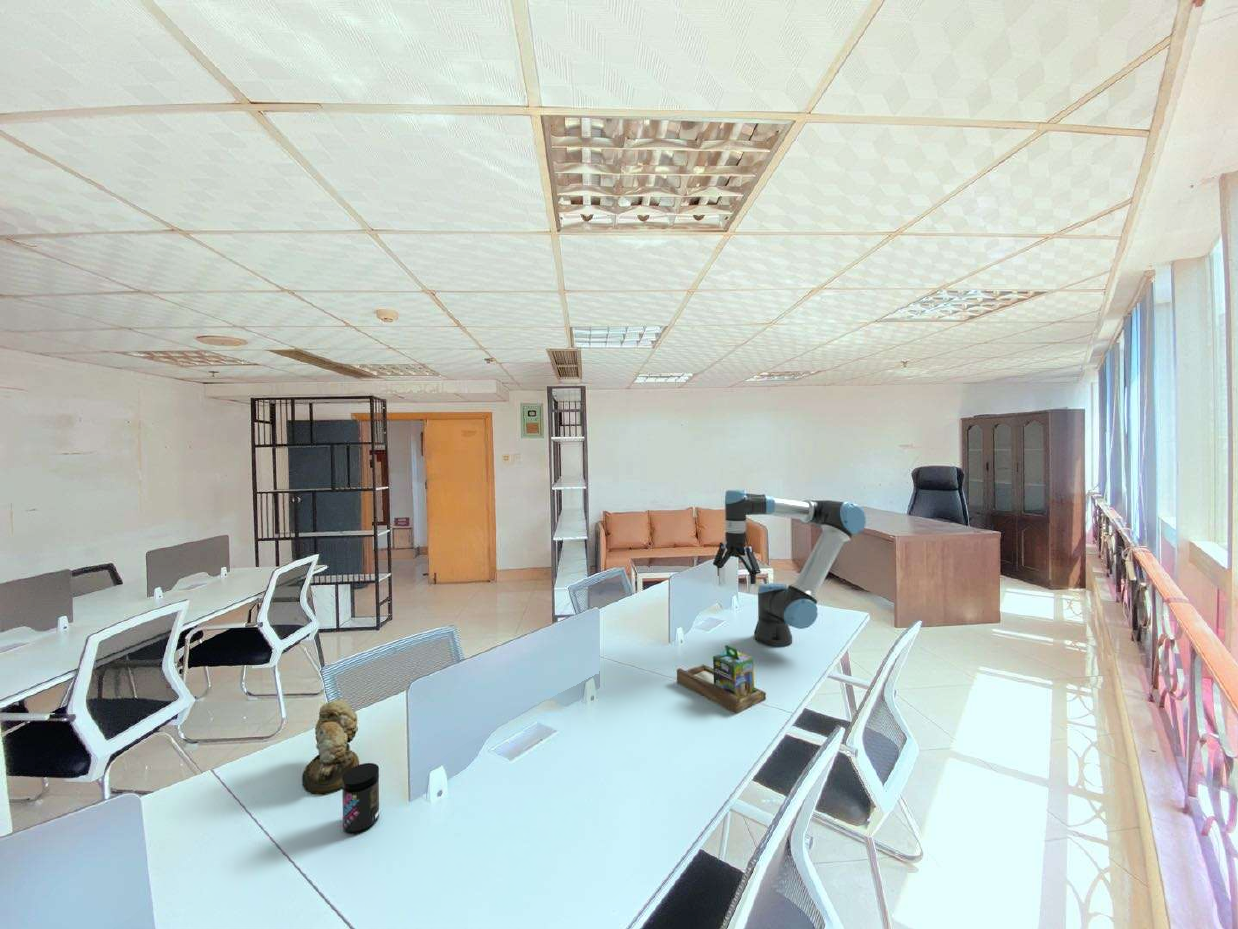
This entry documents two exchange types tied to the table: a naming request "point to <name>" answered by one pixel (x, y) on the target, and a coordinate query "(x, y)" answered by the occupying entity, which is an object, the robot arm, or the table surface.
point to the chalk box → (734, 672)
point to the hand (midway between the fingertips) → (736, 588)
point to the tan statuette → (332, 748)
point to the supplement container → (360, 798)
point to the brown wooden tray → (716, 689)
